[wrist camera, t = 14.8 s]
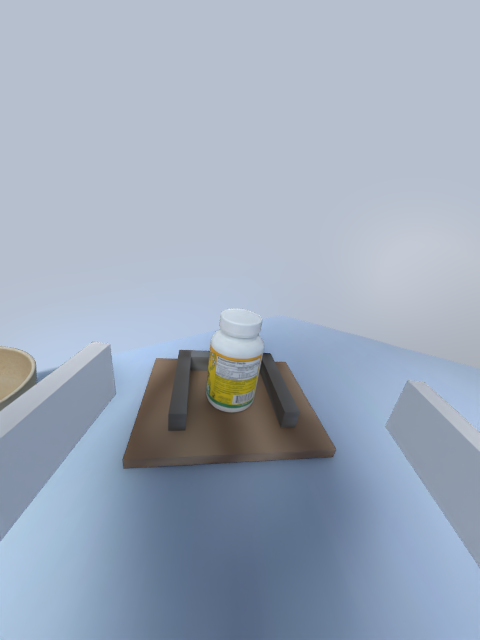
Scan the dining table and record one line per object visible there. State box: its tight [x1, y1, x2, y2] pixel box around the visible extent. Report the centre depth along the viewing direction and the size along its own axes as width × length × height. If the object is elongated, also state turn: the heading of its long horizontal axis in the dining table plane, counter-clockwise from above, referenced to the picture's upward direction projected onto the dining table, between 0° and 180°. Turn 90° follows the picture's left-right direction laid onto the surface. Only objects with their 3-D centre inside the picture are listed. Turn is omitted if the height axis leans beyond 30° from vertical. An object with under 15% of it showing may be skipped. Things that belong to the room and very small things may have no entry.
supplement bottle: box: [206, 309, 264, 413], centre depth 24 cm, size 5×5×10 cm
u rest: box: [123, 350, 336, 468], centre depth 25 cm, size 18×14×3 cm
